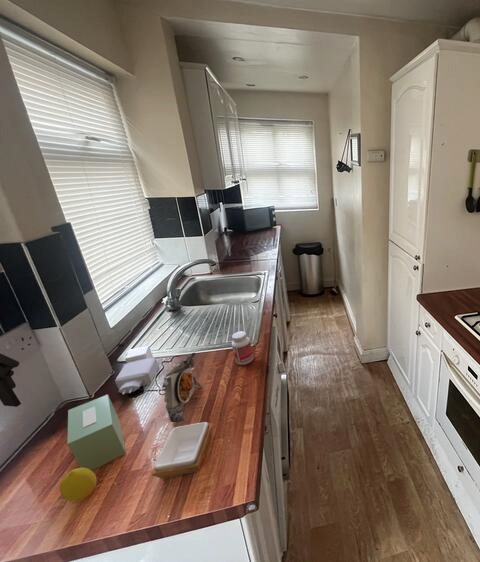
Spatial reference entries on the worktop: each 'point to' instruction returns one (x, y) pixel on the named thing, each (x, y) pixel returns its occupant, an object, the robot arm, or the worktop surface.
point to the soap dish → (183, 450)
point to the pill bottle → (242, 348)
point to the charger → (136, 375)
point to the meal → (179, 388)
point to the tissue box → (95, 433)
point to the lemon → (78, 484)
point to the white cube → (138, 354)
